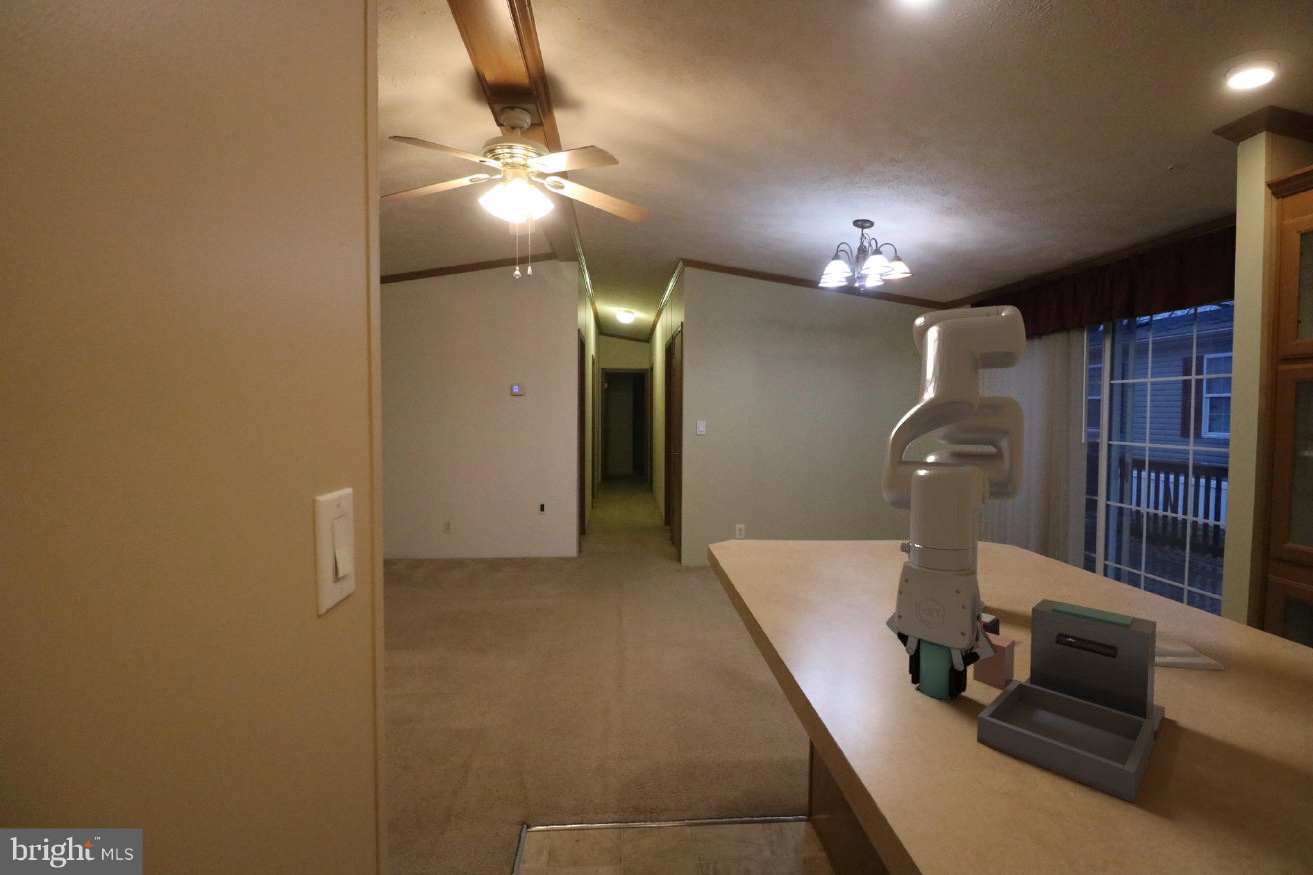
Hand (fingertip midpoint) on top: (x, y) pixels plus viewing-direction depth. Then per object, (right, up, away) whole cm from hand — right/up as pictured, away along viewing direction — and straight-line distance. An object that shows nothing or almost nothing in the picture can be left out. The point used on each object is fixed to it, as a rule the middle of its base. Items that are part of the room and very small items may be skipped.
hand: (936, 686), depth 77 cm
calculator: (+12, -1, +19) cm, 23 cm away
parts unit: (+18, -1, -4) cm, 19 cm away
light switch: (+42, -1, +14) cm, 44 cm away
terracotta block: (+10, -1, +4) cm, 11 cm away
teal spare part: (0, -1, 0) cm, 1 cm away
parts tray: (+9, -1, -13) cm, 15 cm away
